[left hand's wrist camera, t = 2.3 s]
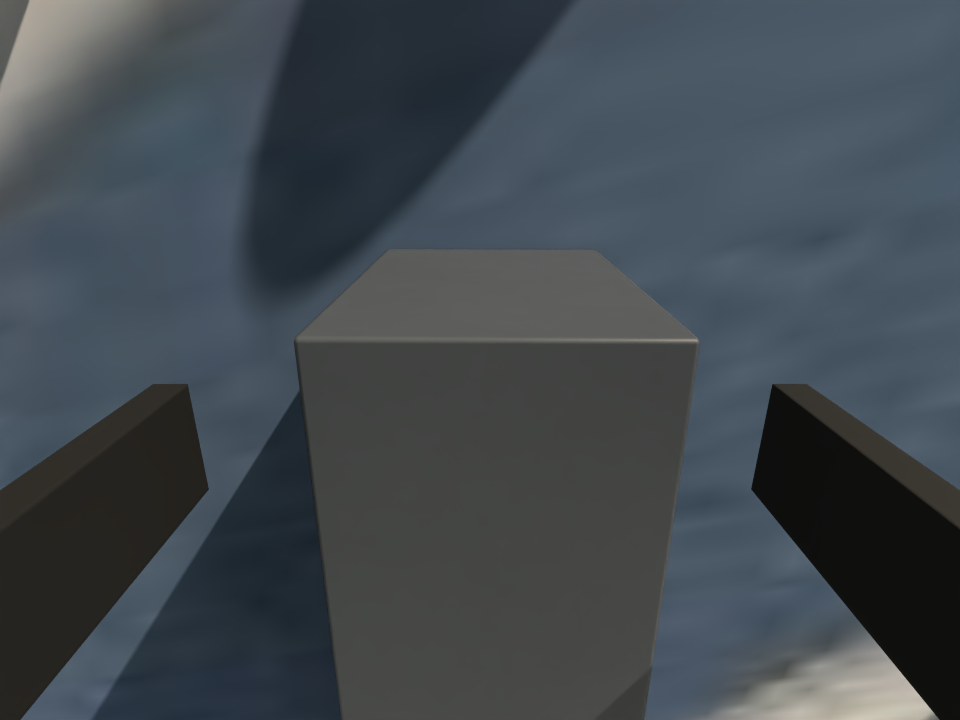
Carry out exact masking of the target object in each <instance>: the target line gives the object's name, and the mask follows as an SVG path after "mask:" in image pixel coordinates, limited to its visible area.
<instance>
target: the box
mask: <svg viewBox="0 0 960 720" xmlns="http://www.w3.org/2000/svg"><path fill="white" fill-rule="evenodd" d="M699 345H700V342H699V339H698V338H697V337H696V336H695V335H694V334H692V333H691V332H690V331H689V330H688V329H687V328H685V327H684V326H683V325H682V324H681V323H680V322H678V321H677V320H676V319H675V318H674V317H673V316H671V315H670V314H669V313H668V312H667V311H666V310H665V309H663V308H662V307H661V306H660V305H659V304H658V303H656V302H655V301H654V300H653V299H652V298H651V297H649V296H648V295H647V294H646V293H645V292H644V291H642V290H641V289H640V288H639V287H638V286H637V285H636V284H634V283H633V282H632V281H631V280H630V279H629V278H627V277H626V276H625V275H624V274H623V273H622V272H620V271H619V270H618V269H617V268H616V267H615V266H613V265H612V264H611V263H610V262H609V261H608V260H606V259H605V258H604V257H603V256H602V255H601V254H600V253H598V252H597V251H596V250H503V249H389V250H387V251H386V252H385V253H384V254H383V255H382V256H381V257H380V258H379V259H378V260H377V261H376V262H375V263H373V264H372V265H371V266H370V267H369V268H368V269H367V270H366V271H365V272H364V273H363V274H362V275H361V276H360V277H359V278H358V279H357V280H355V281H354V282H353V283H352V284H351V285H350V286H349V287H348V288H347V289H346V290H345V291H344V292H343V293H342V294H341V295H340V296H339V297H337V298H336V299H335V300H334V301H333V302H332V303H331V304H330V305H329V306H328V307H327V308H326V309H325V310H324V311H323V312H322V313H320V314H319V315H318V316H317V317H316V318H315V319H314V320H313V321H312V322H311V323H310V324H309V325H308V326H307V327H306V328H305V329H304V330H302V331H301V332H300V333H299V334H298V335H297V336H296V337H295V340H294V346H295V354H296V362H297V370H298V378H299V386H300V394H301V402H302V410H303V418H304V426H305V434H306V442H307V450H308V458H309V466H310V474H311V482H312V490H313V498H314V506H315V514H316V522H317V530H318V538H319V546H320V554H321V562H322V570H323V578H324V586H325V594H326V602H327V610H328V618H329V626H330V634H331V642H332V650H333V658H334V666H335V674H336V682H337V690H338V698H339V706H340V714H341V720H644V717H645V710H646V703H647V697H648V690H649V683H650V676H651V670H652V663H653V656H654V649H655V643H656V636H657V629H658V622H659V615H660V609H661V602H662V595H663V588H664V582H665V575H666V568H667V561H668V555H669V548H670V541H671V534H672V528H673V521H674V514H675V507H676V501H677V494H678V487H679V480H680V474H681V467H682V460H683V453H684V447H685V440H686V433H687V426H688V420H689V413H690V406H691V399H692V393H693V386H694V379H695V372H696V366H697V359H698V352H699Z"/></svg>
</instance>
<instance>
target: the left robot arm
mask: <svg viewBox="0 0 960 720" xmlns="http://www.w3.org/2000/svg"><path fill="white" fill-rule="evenodd" d="M208 490H209V488H208V483H207V478H206V473H205V468H204V464H203V459H202V454H201V449H200V444H199V439H198V434H197V429H196V424H195V419H194V414H193V409H192V404H191V399H190V394H189V389H188V384H153V385H151V386H150V387H149V388H147V389H146V390H144V391H143V392H141V393H140V394H139V395H137V396H136V397H134V398H133V399H131V400H130V401H128V402H127V403H126V404H124V405H123V406H121V407H120V408H118V409H117V410H115V411H114V412H113V413H111V414H110V415H108V416H107V417H105V418H104V419H102V420H101V421H100V422H98V423H97V424H95V425H94V426H92V427H91V428H90V429H88V430H87V431H85V432H84V433H82V434H81V435H79V436H78V437H77V438H75V439H74V440H72V441H71V442H69V443H68V444H66V445H65V446H64V447H62V448H61V449H59V450H58V451H56V452H55V453H53V454H52V455H51V456H49V457H48V458H46V459H45V460H43V461H42V462H41V463H39V464H38V465H36V466H35V467H33V468H32V469H30V470H29V471H28V472H26V473H25V474H23V475H22V476H20V477H19V478H17V479H16V480H15V481H13V482H12V483H10V484H9V485H7V486H6V487H4V488H3V489H2V490H0V720H20V719H21V718H22V717H23V716H24V715H25V713H26V712H27V711H28V710H29V708H30V707H31V706H32V705H33V704H34V702H35V701H36V700H37V699H38V697H39V696H40V695H41V694H42V693H43V691H44V690H45V689H46V688H47V686H48V685H49V684H50V683H51V682H52V680H53V679H54V678H55V677H56V675H57V674H58V673H59V672H60V671H61V669H62V668H63V667H64V666H65V664H66V663H67V662H68V661H69V660H70V658H71V657H72V656H73V655H74V653H75V652H76V651H77V650H78V649H79V647H80V646H81V645H82V644H83V642H84V641H85V640H86V639H87V638H88V636H89V635H90V634H91V633H92V631H93V630H94V629H95V628H96V627H97V625H98V624H99V623H100V622H101V620H102V619H103V618H104V617H105V616H106V614H107V613H108V612H109V611H110V609H111V608H112V607H113V606H114V605H115V603H116V602H117V601H118V600H119V598H120V597H121V596H122V595H123V594H124V592H125V591H126V590H127V589H128V587H129V586H130V585H131V584H132V583H133V581H134V580H135V579H136V578H137V576H138V575H139V574H140V573H141V571H142V570H143V569H144V568H145V567H146V565H147V564H148V563H149V562H150V560H151V559H152V558H153V557H154V556H155V554H156V553H157V552H158V551H159V549H160V548H161V547H162V546H163V545H164V543H165V542H166V541H167V540H168V538H169V537H170V536H171V535H172V534H173V532H174V531H175V530H176V529H177V527H178V526H179V525H180V524H181V523H182V521H183V520H184V519H185V518H186V516H187V515H188V514H189V513H190V512H191V510H192V509H193V508H194V507H195V505H196V504H197V503H198V502H199V501H200V499H201V498H202V497H203V496H204V494H205V493H206V492H207V491H208ZM751 490H752V491H753V492H754V493H755V494H756V496H757V497H758V498H759V499H760V501H761V502H762V503H763V504H764V505H765V507H766V508H767V509H768V510H769V512H770V513H771V514H772V515H773V516H774V518H775V519H776V520H777V521H778V523H779V524H780V525H781V526H782V527H783V529H784V530H785V531H786V532H787V534H788V535H789V536H790V537H791V538H792V540H793V541H794V542H795V543H796V545H797V546H798V547H799V548H800V549H801V551H802V552H803V553H804V554H805V556H806V557H807V558H808V559H809V560H810V562H811V563H812V564H813V565H814V567H815V568H816V569H817V570H818V571H819V573H820V574H821V575H822V576H823V578H824V579H825V580H826V581H827V583H828V584H829V585H830V586H831V587H832V589H833V590H834V591H835V592H836V594H837V595H838V596H839V597H840V598H841V600H842V601H843V602H844V603H845V605H846V606H847V607H848V608H849V609H850V611H851V612H852V613H853V614H854V616H855V617H856V618H857V619H858V620H859V622H860V623H861V624H862V625H863V627H864V628H865V629H866V630H867V631H868V633H869V634H870V635H871V636H872V638H873V639H874V640H875V641H876V642H877V644H878V645H879V646H880V647H881V649H882V650H883V651H884V652H885V653H886V655H887V656H888V657H889V658H890V660H891V661H892V662H893V663H894V664H895V666H896V667H897V668H898V669H899V671H900V672H901V673H902V674H903V675H904V677H905V678H906V679H907V680H908V682H909V683H910V684H911V685H912V686H913V688H914V689H915V690H916V691H917V693H918V694H919V695H920V696H921V697H922V699H923V700H924V701H925V702H926V704H927V705H928V706H929V707H930V708H931V710H932V711H933V712H934V713H935V715H936V716H937V717H938V718H939V719H940V720H960V490H958V489H957V488H956V487H954V486H953V485H951V484H950V483H948V482H947V481H945V480H944V479H943V478H941V477H940V476H938V475H937V474H935V473H934V472H932V471H931V470H930V469H928V468H927V467H925V466H924V465H922V464H921V463H919V462H918V461H917V460H915V459H914V458H912V457H911V456H909V455H908V454H907V453H905V452H904V451H902V450H901V449H899V448H898V447H896V446H895V445H894V444H892V443H891V442H889V441H888V440H886V439H885V438H883V437H882V436H881V435H879V434H878V433H876V432H875V431H873V430H872V429H870V428H869V427H868V426H866V425H865V424H863V423H862V422H860V421H859V420H858V419H856V418H855V417H853V416H852V415H850V414H849V413H847V412H846V411H845V410H843V409H842V408H840V407H839V406H837V405H836V404H834V403H833V402H832V401H830V400H829V399H827V398H826V397H824V396H823V395H821V394H820V393H819V392H817V391H816V390H814V389H813V388H811V387H810V386H809V385H807V384H772V389H771V394H770V399H769V404H768V409H767V414H766V419H765V424H764V429H763V434H762V439H761V444H760V449H759V454H758V459H757V464H756V468H755V473H754V478H753V483H752V488H751Z"/></svg>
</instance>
